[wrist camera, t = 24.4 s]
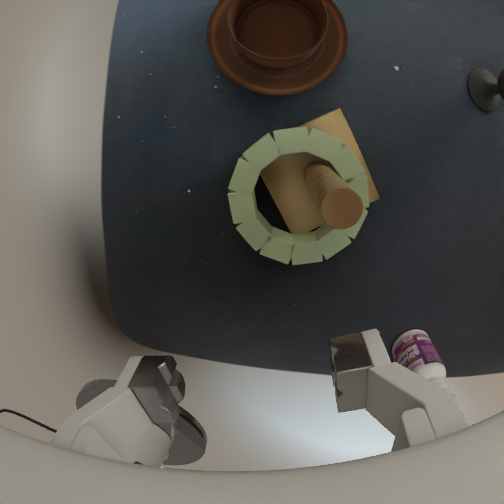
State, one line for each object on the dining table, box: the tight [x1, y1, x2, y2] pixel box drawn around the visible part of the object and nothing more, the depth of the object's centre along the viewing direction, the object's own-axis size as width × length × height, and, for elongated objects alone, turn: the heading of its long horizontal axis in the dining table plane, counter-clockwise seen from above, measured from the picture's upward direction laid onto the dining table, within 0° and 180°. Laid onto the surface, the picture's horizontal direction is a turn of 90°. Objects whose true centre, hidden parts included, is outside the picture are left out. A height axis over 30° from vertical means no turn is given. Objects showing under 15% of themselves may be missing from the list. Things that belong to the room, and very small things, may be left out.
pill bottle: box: [392, 329, 449, 392], centre depth 31 cm, size 5×5×10 cm
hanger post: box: [260, 108, 379, 234], centre depth 22 cm, size 9×9×12 cm
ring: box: [228, 127, 369, 265], centre depth 26 cm, size 12×12×2 cm
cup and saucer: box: [207, 0, 348, 96], centre depth 20 cm, size 12×12×6 cm
